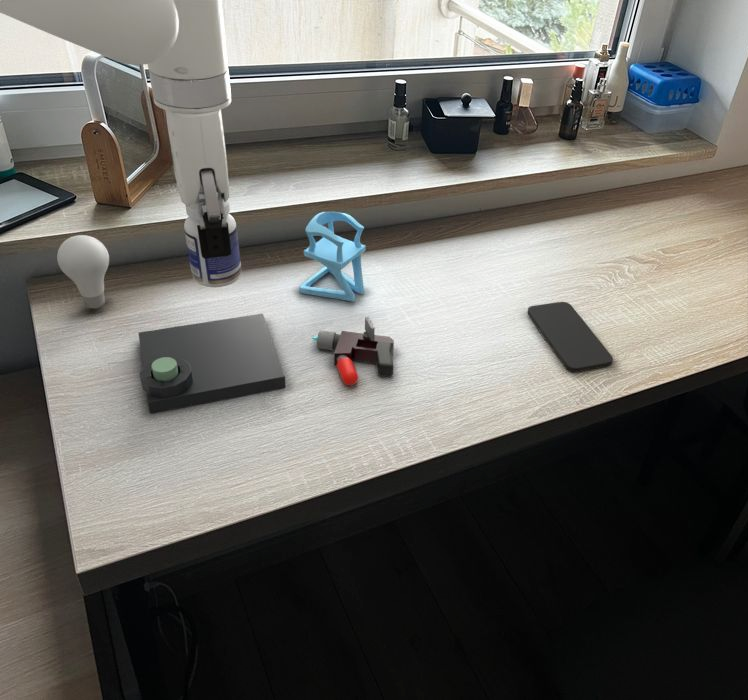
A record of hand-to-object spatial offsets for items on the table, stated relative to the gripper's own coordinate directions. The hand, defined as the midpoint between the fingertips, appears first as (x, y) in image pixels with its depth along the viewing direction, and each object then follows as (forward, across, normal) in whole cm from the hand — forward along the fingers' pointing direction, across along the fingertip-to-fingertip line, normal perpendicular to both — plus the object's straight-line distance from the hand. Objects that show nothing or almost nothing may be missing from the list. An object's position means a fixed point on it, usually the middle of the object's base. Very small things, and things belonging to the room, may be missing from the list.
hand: (212, 240), depth 84 cm
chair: (+18, -12, +18) cm, 28 cm away
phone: (+18, +9, +47) cm, 51 cm away
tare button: (+15, +5, -8) cm, 17 cm away
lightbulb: (+18, -16, -15) cm, 28 cm away
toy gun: (+18, +6, +15) cm, 24 cm away
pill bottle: (+5, 0, 0) cm, 5 cm away
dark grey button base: (+18, +1, -2) cm, 18 cm away
